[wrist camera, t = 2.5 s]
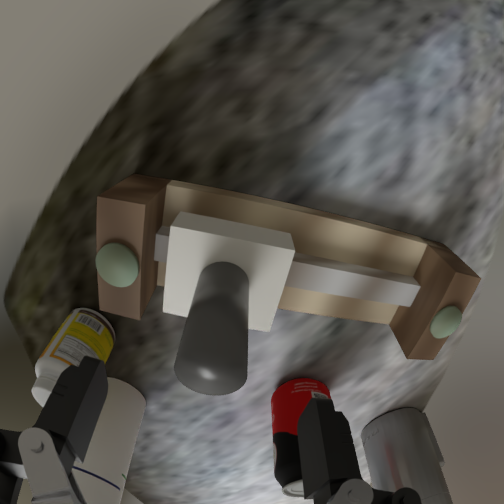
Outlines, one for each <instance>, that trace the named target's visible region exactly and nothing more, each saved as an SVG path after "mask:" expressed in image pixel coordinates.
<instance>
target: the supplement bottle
mask: <svg viewBox="0 0 504 504" xmlns="http://www.w3.org/2000/svg"><path fill="white" fill-rule="evenodd" d="M114 344H115V332H114V329H113V327H112V326H111V324H110V323H109V321H108V320H107V319H106V318H105V317H104V316H102V315H101V314H100V313H98V312H96V311H94V310H92V309H88V308H77V309H75V310H73V311H72V312H71V313H70V314H69V315H68V317H67V318H66V319H65V321H64V322H63V324H62V325H61V327H60V328H59V329H58V331H57V332H56V334H55V335H54V337H53V338H52V340H51V341H50V343H49V344H48V346H47V347H46V349H45V350H44V352H43V353H42V355H41V356H40V358H39V359H38V361H37V363H36V366H35V372H36V376H37V379H36V382H35V384H34V386H33V388H32V394H33V396H34V398H35V399H36V401H37V402H38V403H39V404H40V405H41V406H42V407H44V405H45V403H46V401H47V399H48V397H49V395H50V393H52V390H53V388H54V386H55V385H56V382H57V380H58V378H59V376H60V374H61V373H62V372H63V371H64V370H65V369H66V368H68V367H69V366H70V365H74V366H77V367H78V366H79V364H80V362H81V361H82V359H83V357H84V356H86V355H87V356H90V357H93V358H96V359H100V360H103V361H104V363H106V361H107V359H108V357H109V355H110V353H111V351H112V348H113V346H114Z"/></svg>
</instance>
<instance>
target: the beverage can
mask: <svg viewBox="0 0 504 504" xmlns="http://www.w3.org/2000/svg"><path fill="white" fill-rule="evenodd" d="M311 398H330V399H331V396H330V392H329V389H328V388H327V386H326V385H325V384H323V383H322V382H320V381H317V380H314V379H310V378H298V379H293V380H290V381H288V382H286V383H285V384H283V385H281V386H280V387H279V388H277V390H276V391H275V392H274V393H273V395H272V399H271V408H272V429H273V451H274V474H275V478H276V480H277V481H278V482H279V483H280V485H281V486H282V488H283V489H282V492H283V494H285V495H287V496H291V497H304V490H303V480H302V471H301V461H300V452H299V443H298V434H297V424H298V420H299V417H300V415H301V414H302V412H303V411H304V409H305V407H306V406H307V404H308V402H309V401H310V399H311Z"/></svg>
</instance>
